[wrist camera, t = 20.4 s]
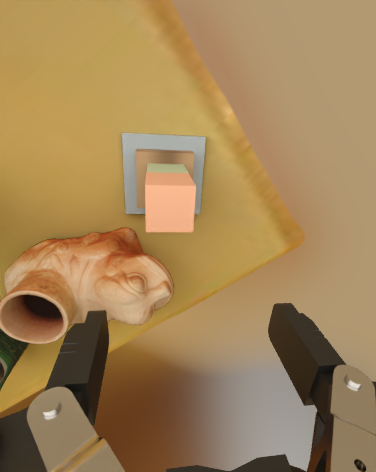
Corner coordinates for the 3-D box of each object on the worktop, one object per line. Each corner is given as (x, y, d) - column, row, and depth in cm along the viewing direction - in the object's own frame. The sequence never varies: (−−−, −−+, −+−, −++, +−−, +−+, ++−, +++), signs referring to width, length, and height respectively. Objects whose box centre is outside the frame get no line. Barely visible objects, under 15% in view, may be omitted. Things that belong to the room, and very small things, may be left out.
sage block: (147, 163, 36) (146, 172, 31) (183, 164, 37) (189, 173, 32) (148, 198, 38) (147, 212, 33) (182, 198, 39) (187, 212, 34)
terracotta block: (146, 212, 33) (145, 232, 28) (146, 172, 31) (145, 185, 25) (186, 212, 34) (193, 232, 28) (188, 173, 32) (196, 186, 26)
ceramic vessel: (175, 280, 50) (184, 342, 37) (36, 308, 49) (-7, 383, 36) (161, 213, 44) (166, 258, 31) (3, 243, 43) (-65, 303, 29)
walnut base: (138, 201, 41) (137, 208, 39) (136, 148, 38) (135, 151, 35) (188, 202, 43) (191, 208, 40) (191, 150, 39) (194, 153, 37)
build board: (126, 211, 43) (125, 213, 42) (122, 132, 38) (121, 133, 37) (198, 211, 45) (200, 214, 44) (204, 136, 40) (205, 137, 39)
